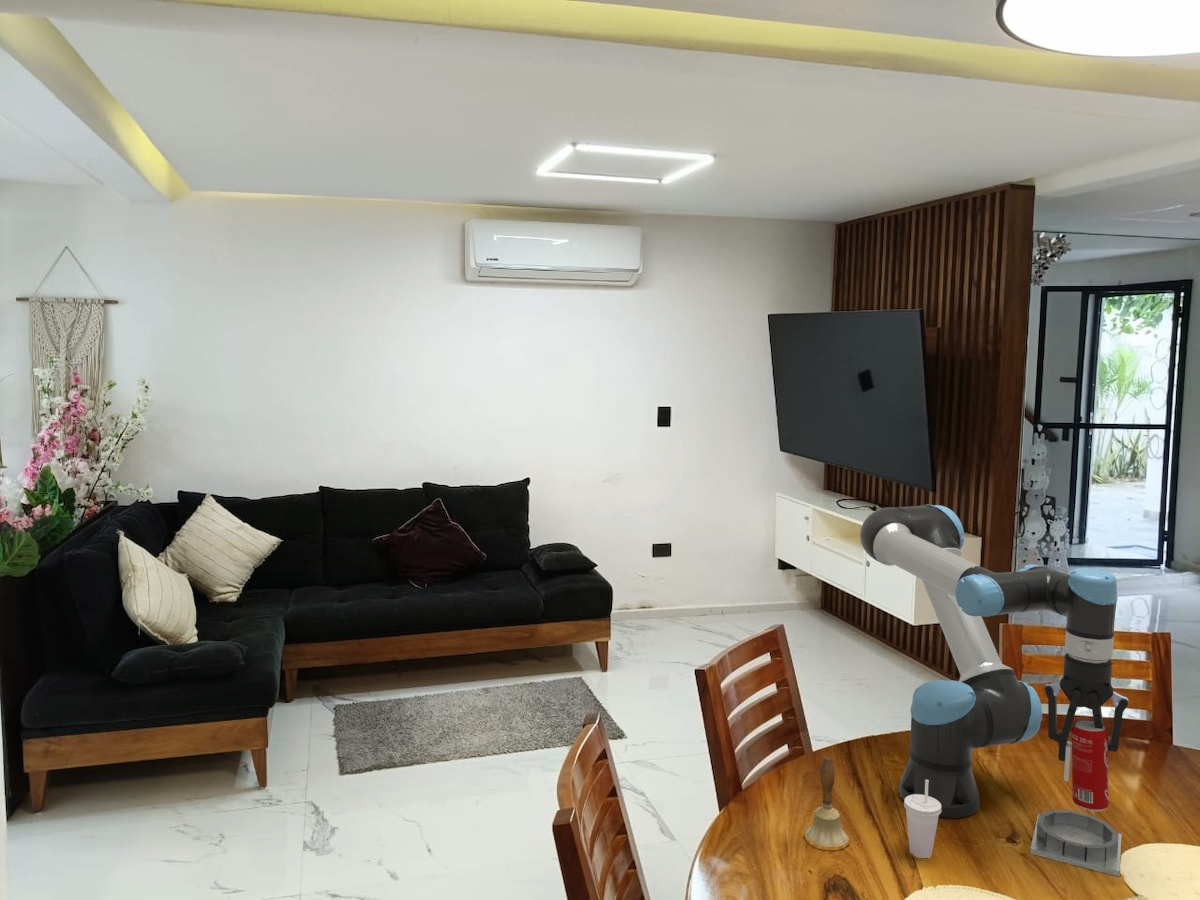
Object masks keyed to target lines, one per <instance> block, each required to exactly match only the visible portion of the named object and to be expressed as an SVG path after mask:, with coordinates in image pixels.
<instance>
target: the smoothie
mask: <svg viewBox="0 0 1200 900" xmlns="http://www.w3.org/2000/svg"><path fill="white" fill-rule="evenodd" d="M928 783H929V780H925V795H921V794H913V795H909V796H907V797H906V798H905V799H904V802H903V807H904V809H905V813H906V823H907V833H908V846H909V853H910V852H911V853H912V854H913V855H915V856H917V857H920V858H927V857H930V856H931V857H932V855H933V849H934V843H935V838H936V834H937V833H936V832H937V827H938V822H939V818H940V817H939V814H940V813H941V803H940V802H939V801H938V800H936V799H935V798H932V797H930V796H928ZM911 853H910V854H911ZM913 855H912V856H913ZM931 857H930V858H931ZM920 858H919V859H920Z"/></svg>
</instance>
